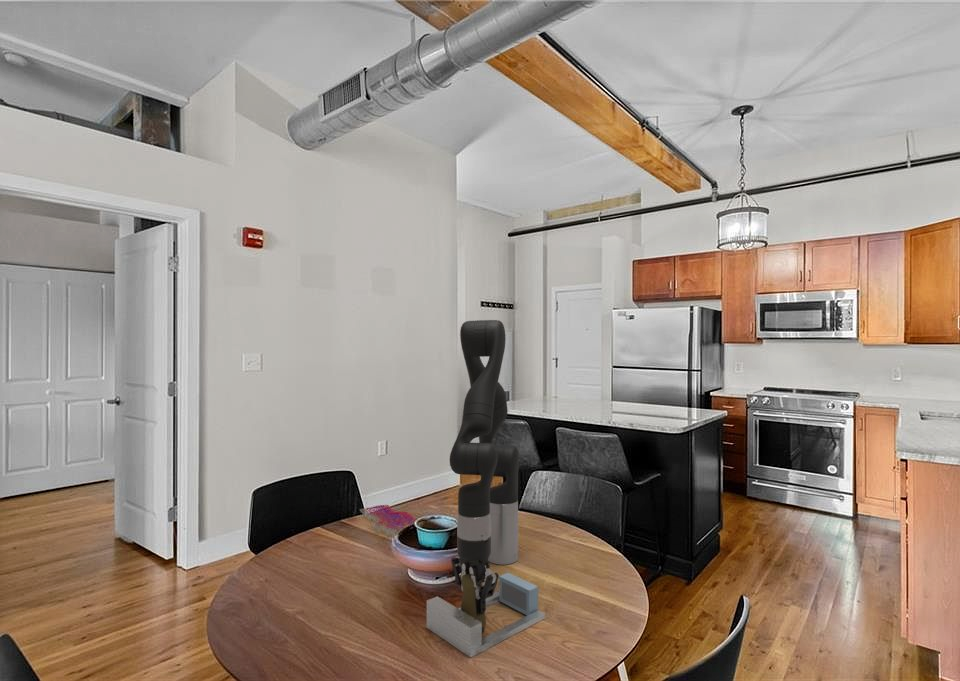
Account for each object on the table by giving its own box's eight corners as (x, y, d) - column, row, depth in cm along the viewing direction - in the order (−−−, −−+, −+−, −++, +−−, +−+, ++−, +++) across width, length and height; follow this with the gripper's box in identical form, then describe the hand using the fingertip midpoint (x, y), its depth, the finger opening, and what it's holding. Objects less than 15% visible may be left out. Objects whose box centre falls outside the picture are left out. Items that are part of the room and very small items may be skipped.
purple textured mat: (357, 515, 194) (357, 501, 194) (396, 509, 201) (396, 496, 201) (381, 543, 167) (381, 526, 167) (425, 535, 174) (425, 519, 174)
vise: (426, 627, 117) (426, 600, 117) (499, 595, 132) (499, 571, 132) (470, 657, 106) (470, 627, 106) (544, 618, 121) (544, 592, 121)
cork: (486, 630, 114) (487, 579, 114) (458, 629, 114) (459, 579, 113) (485, 615, 120) (486, 567, 120) (459, 615, 120) (459, 566, 120)
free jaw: (499, 601, 128) (498, 576, 128) (508, 596, 130) (508, 572, 130) (529, 616, 121) (529, 590, 121) (538, 612, 123) (538, 586, 123)
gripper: (441, 528, 119) (441, 604, 119) (482, 546, 109) (483, 630, 109) (466, 520, 124) (466, 593, 124) (508, 537, 114) (508, 617, 114)
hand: (474, 610), depth 116 cm, fingers open, 3 cm apart
